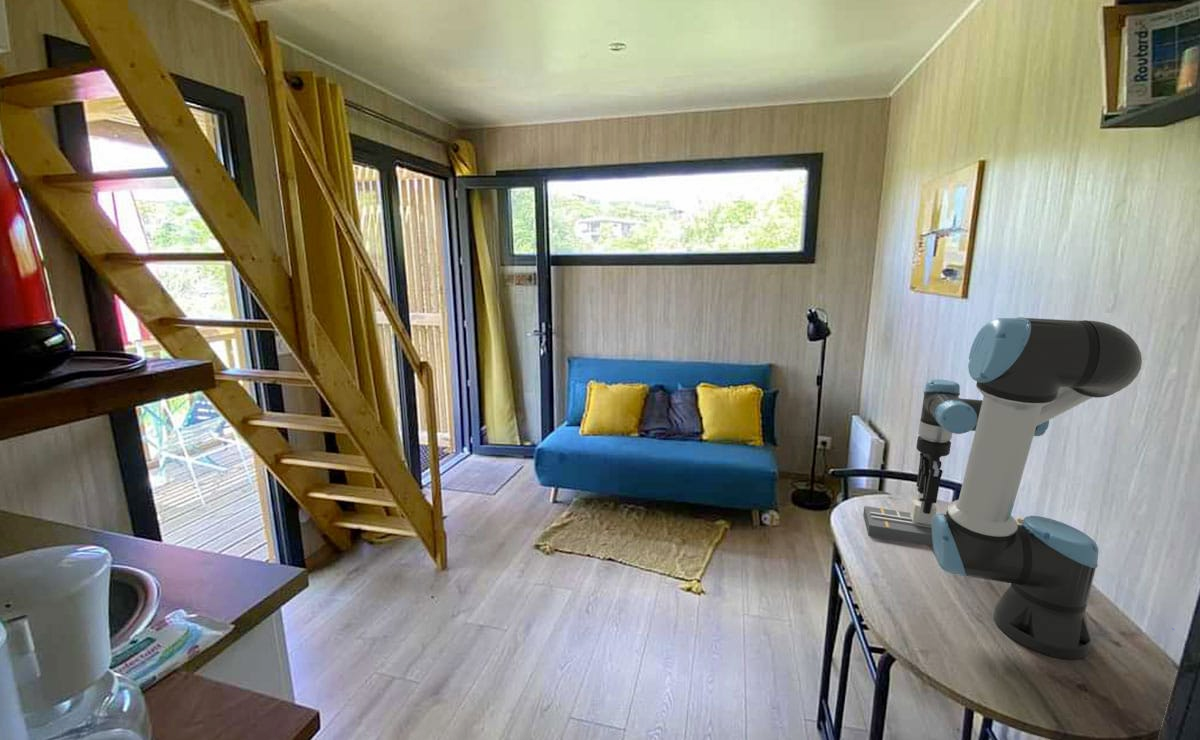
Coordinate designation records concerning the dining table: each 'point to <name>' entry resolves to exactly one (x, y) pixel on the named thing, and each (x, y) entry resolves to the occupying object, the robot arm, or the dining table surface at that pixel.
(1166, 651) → the dining table surface
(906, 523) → the fader console
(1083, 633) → the robot arm
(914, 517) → the fader knob
